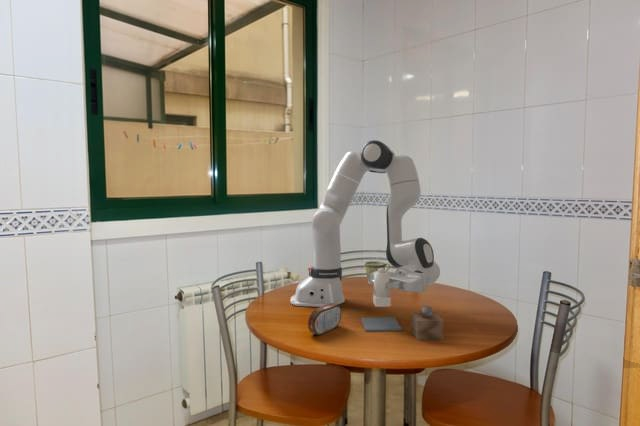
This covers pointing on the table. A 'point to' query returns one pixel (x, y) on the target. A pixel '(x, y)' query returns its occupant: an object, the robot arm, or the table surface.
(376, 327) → the mat
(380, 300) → the white tapered tower
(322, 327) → the tin
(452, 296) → the table surface
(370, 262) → the ceramic cup
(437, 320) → the post plinth
